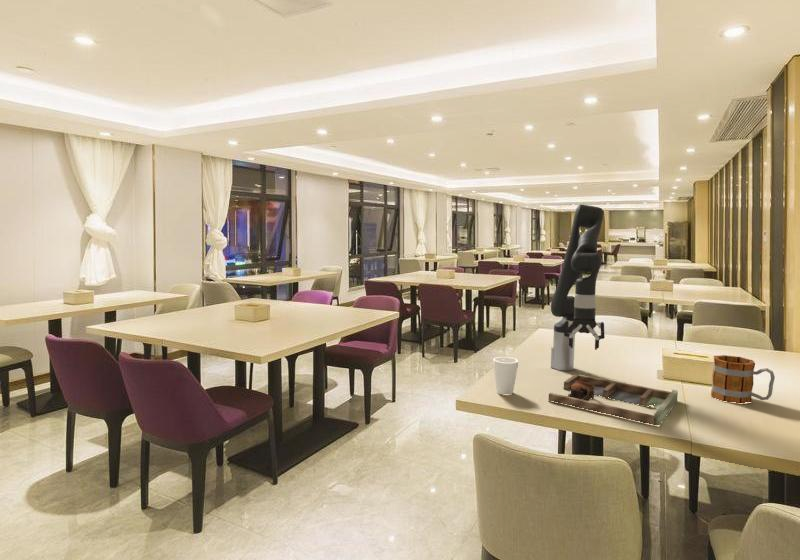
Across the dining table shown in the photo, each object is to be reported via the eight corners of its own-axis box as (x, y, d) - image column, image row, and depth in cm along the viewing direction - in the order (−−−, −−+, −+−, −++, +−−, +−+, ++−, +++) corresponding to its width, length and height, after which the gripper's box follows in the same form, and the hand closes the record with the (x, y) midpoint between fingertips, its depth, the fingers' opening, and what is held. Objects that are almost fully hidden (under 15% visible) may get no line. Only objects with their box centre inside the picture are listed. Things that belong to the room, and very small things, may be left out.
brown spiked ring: (560, 398, 185) (567, 378, 187) (581, 408, 186) (588, 388, 188) (578, 401, 173) (586, 379, 175) (601, 411, 175) (607, 390, 176)
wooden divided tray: (546, 401, 180) (546, 390, 180) (575, 380, 205) (576, 371, 204) (658, 427, 157) (659, 415, 156) (677, 401, 181) (677, 390, 181)
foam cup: (502, 398, 183) (503, 364, 182) (487, 390, 191) (488, 358, 190) (522, 394, 187) (523, 361, 186) (506, 387, 196) (507, 355, 194)
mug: (703, 397, 186) (706, 358, 184) (717, 390, 194) (720, 353, 193) (766, 412, 170) (769, 370, 169) (777, 404, 179) (781, 364, 177)
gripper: (605, 305, 183) (603, 347, 185) (565, 303, 189) (564, 345, 190) (605, 308, 176) (604, 352, 178) (564, 306, 182) (563, 349, 183)
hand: (583, 348), depth 184 cm, fingers open, 8 cm apart
